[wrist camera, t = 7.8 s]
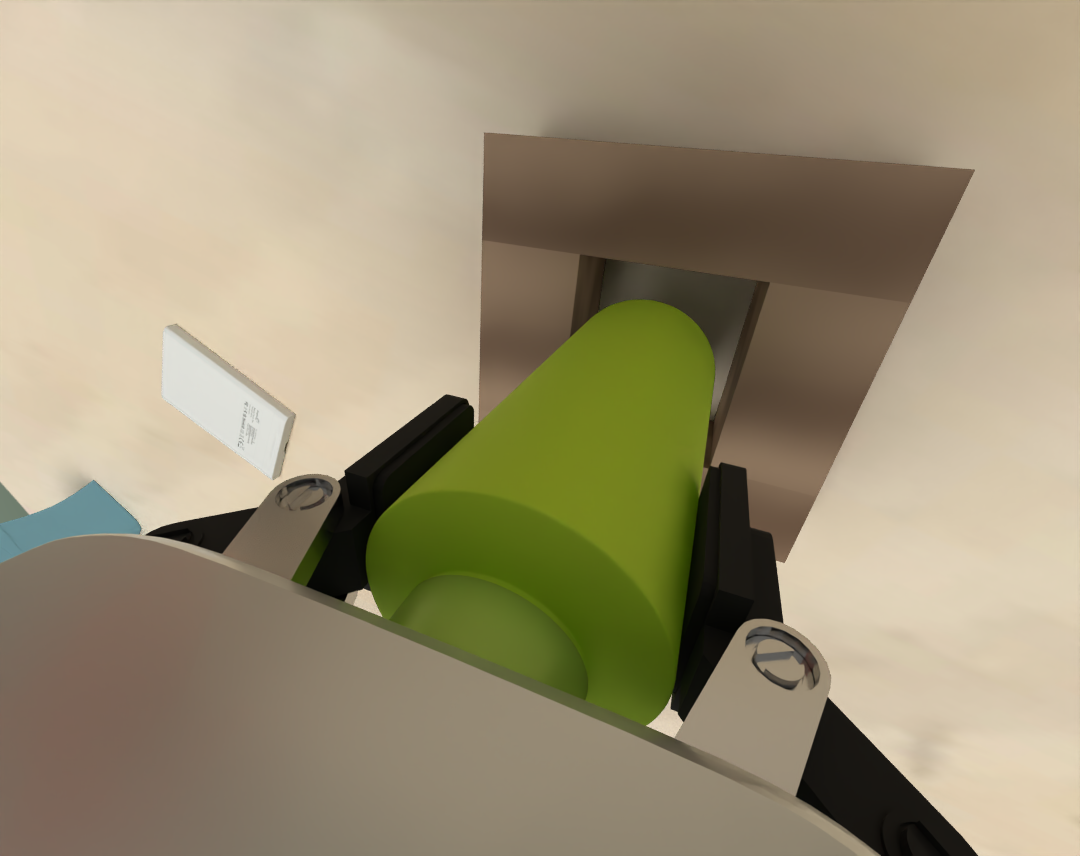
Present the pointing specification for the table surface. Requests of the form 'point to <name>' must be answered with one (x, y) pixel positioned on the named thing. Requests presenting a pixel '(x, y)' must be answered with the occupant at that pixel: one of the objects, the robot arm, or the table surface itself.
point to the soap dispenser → (566, 516)
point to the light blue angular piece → (67, 521)
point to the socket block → (723, 249)
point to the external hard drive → (224, 402)
